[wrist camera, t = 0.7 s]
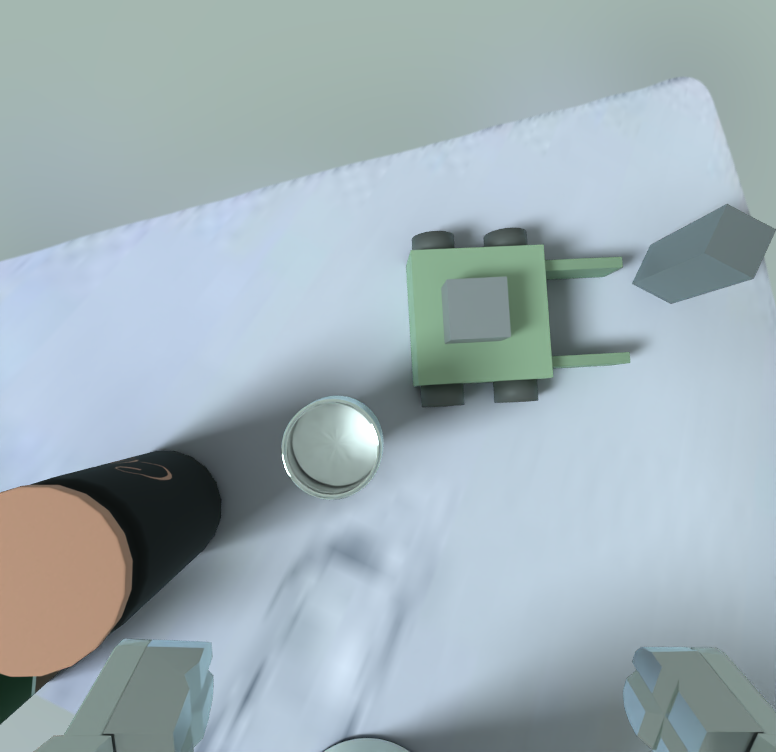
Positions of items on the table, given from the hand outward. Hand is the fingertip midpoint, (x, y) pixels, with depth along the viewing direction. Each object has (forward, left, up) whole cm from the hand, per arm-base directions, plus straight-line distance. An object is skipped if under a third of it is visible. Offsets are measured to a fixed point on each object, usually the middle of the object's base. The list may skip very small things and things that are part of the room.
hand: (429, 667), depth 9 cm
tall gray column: (+16, -30, -36) cm, 49 cm away
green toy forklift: (+12, -14, -36) cm, 40 cm away
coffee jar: (-4, +20, -36) cm, 42 cm away
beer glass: (+2, +3, -36) cm, 36 cm away
